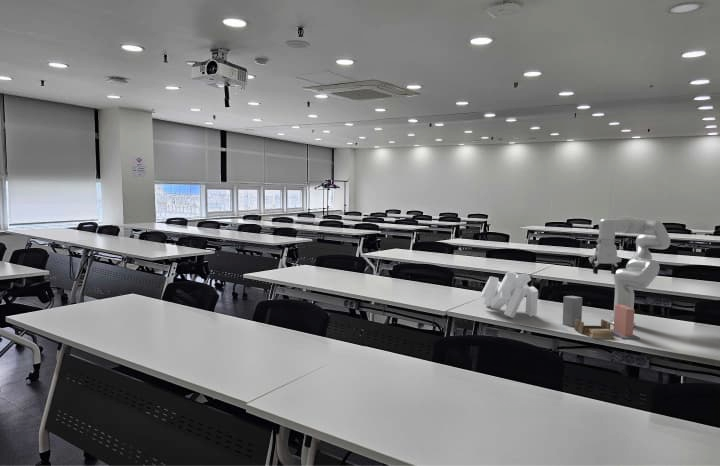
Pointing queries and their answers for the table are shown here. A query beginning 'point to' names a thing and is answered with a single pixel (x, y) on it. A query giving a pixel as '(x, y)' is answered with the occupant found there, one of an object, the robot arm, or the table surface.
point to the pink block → (624, 320)
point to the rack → (585, 329)
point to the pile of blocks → (511, 293)
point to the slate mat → (624, 336)
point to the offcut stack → (600, 333)
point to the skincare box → (572, 310)
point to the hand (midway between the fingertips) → (604, 273)
